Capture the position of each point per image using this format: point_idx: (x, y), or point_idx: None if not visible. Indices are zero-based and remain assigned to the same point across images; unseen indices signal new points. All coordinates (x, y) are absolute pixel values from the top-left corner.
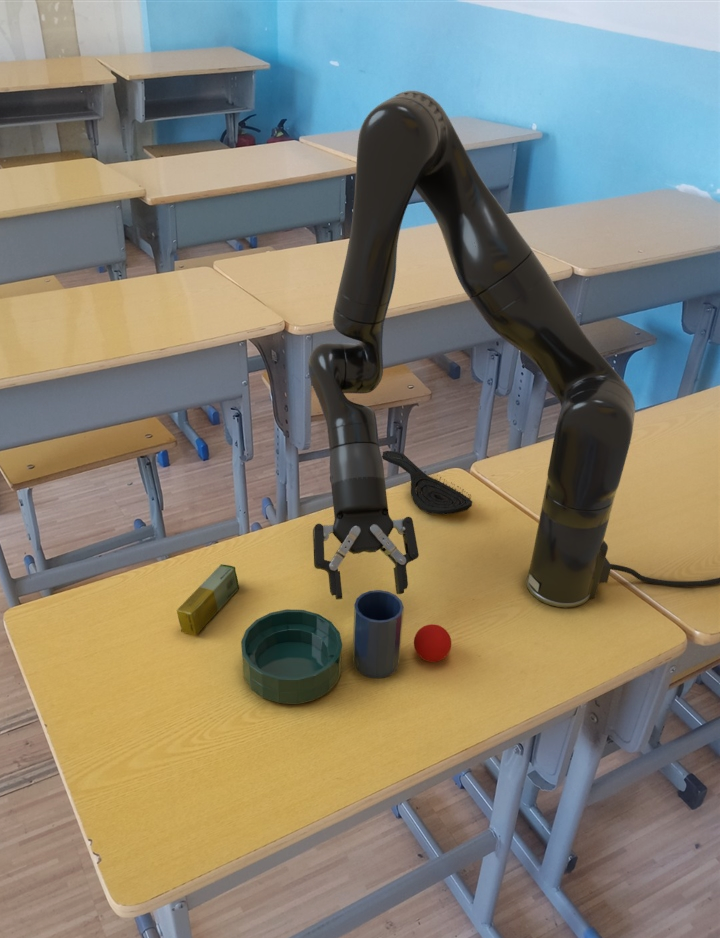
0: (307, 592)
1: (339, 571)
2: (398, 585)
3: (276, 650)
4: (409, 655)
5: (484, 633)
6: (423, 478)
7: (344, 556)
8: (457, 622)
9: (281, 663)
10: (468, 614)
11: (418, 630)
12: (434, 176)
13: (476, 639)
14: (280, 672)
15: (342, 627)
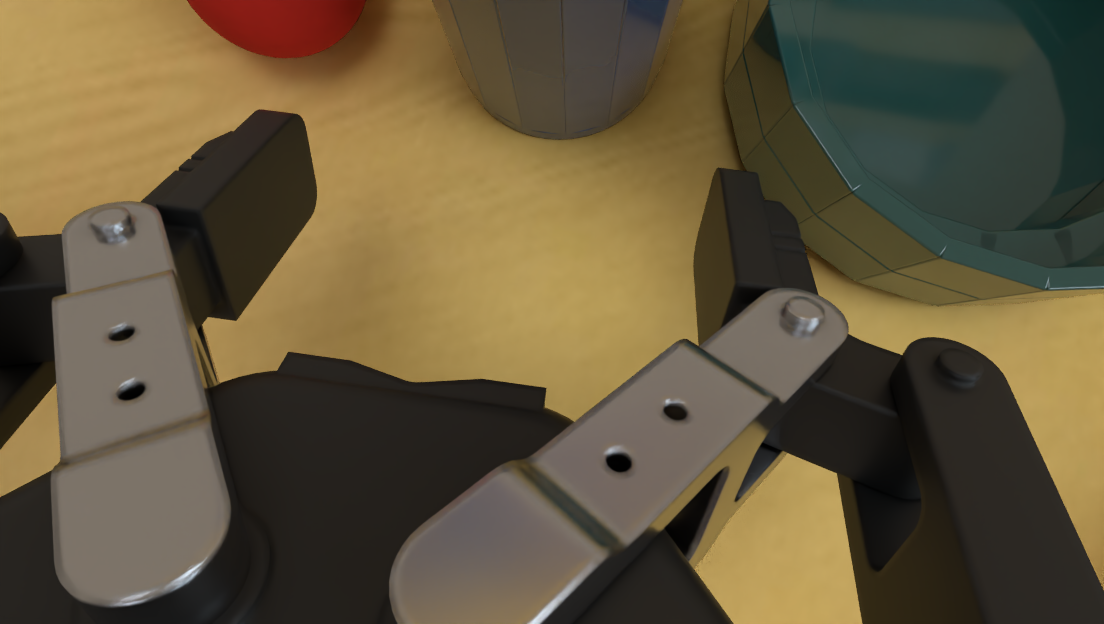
0: (744, 606)
1: (740, 278)
2: (279, 139)
3: (1011, 200)
4: (400, 37)
5: (19, 81)
6: None
7: (692, 343)
8: (102, 182)
9: (1004, 110)
10: (28, 220)
11: (308, 3)
12: None
13: (71, 55)
14: (1021, 53)
15: (641, 295)
